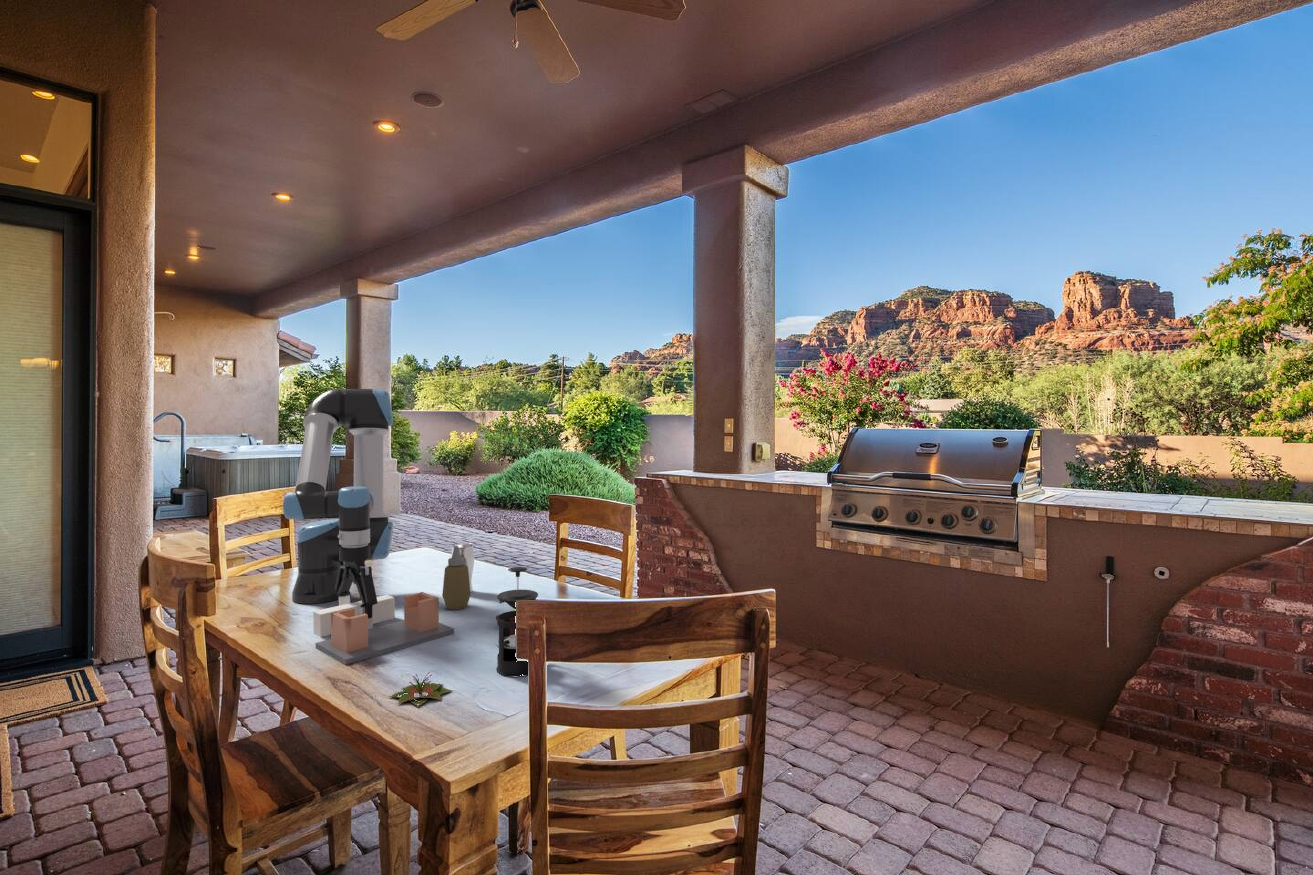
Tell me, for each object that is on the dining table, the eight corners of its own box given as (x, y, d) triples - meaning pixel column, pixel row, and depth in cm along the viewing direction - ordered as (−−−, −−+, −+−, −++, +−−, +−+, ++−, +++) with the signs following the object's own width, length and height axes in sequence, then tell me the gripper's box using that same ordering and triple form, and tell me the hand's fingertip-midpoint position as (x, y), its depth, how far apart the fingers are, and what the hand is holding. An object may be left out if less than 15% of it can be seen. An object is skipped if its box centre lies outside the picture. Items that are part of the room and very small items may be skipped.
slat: (313, 634, 169) (313, 611, 169) (387, 615, 185) (387, 594, 185) (320, 637, 167) (320, 614, 167) (394, 618, 182) (394, 597, 182)
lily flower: (376, 700, 132) (376, 678, 132) (424, 680, 142) (424, 659, 142) (416, 715, 126) (416, 692, 126) (464, 692, 136) (464, 670, 136)
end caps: (315, 647, 159) (314, 611, 159) (421, 619, 181) (421, 587, 180) (345, 664, 149) (345, 625, 149) (454, 633, 170) (453, 599, 170)
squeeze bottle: (462, 612, 188) (462, 550, 187) (436, 610, 189) (436, 548, 189) (475, 604, 196) (475, 544, 195) (451, 602, 197) (450, 542, 196)
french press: (509, 681, 141) (509, 575, 140) (485, 669, 147) (485, 568, 146) (553, 666, 149) (553, 566, 148) (528, 655, 156) (528, 559, 155)
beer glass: (478, 590, 210) (478, 544, 209) (465, 596, 203) (465, 548, 203) (460, 588, 212) (460, 542, 212) (446, 594, 206) (446, 546, 205)
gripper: (320, 540, 180) (321, 618, 181) (362, 554, 164) (363, 638, 165) (347, 536, 186) (348, 612, 186) (391, 549, 170) (391, 631, 171)
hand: (355, 624), depth 176 cm, fingers open, 12 cm apart
